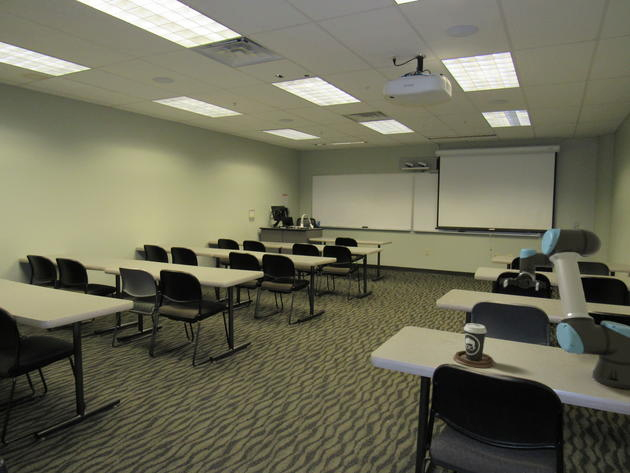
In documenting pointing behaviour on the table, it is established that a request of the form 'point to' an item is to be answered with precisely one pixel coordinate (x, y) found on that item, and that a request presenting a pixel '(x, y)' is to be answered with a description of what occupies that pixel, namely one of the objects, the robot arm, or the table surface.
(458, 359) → the coaster
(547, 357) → the table surface
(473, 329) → the coffee cup
